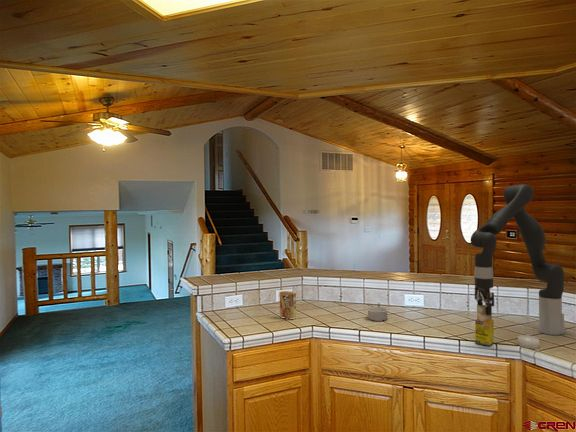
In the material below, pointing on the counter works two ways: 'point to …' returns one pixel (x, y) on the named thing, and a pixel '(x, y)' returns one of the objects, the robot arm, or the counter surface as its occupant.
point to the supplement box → (484, 332)
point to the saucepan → (377, 313)
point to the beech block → (483, 313)
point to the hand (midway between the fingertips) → (484, 312)
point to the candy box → (288, 304)
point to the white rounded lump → (528, 341)
